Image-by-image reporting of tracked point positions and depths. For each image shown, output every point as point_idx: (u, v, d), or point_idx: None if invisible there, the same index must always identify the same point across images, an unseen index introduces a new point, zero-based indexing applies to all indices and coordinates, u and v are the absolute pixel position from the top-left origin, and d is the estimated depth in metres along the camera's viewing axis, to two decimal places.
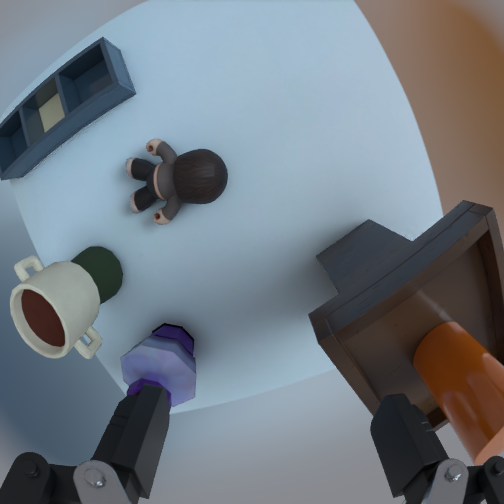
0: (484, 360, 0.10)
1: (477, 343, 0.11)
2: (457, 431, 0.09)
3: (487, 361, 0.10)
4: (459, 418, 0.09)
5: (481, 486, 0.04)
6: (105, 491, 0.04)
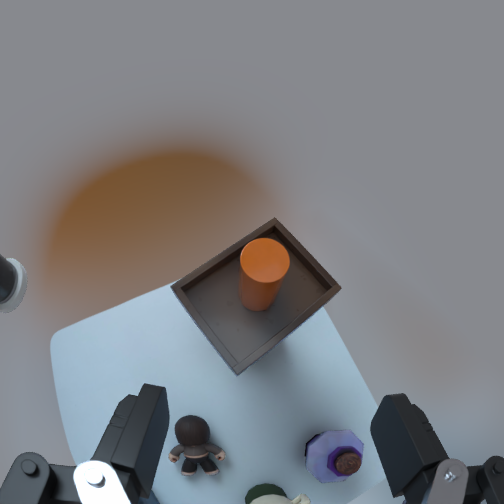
0: (239, 280, 0.27)
1: None
2: (273, 290, 0.24)
3: (239, 278, 0.26)
4: (264, 292, 0.24)
5: (481, 486, 0.04)
6: (105, 491, 0.04)
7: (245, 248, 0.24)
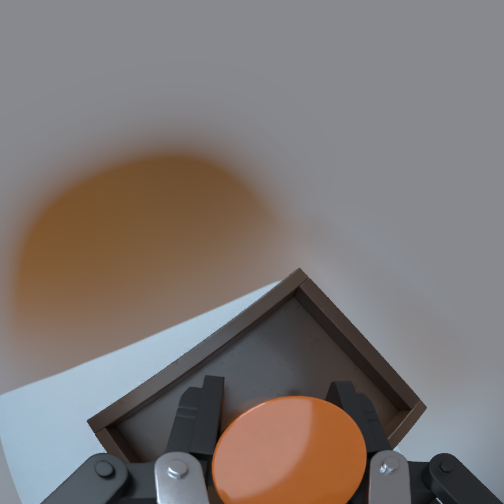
0: None
1: None
2: None
3: None
4: None
5: (426, 484, 0.05)
6: (185, 483, 0.05)
7: (227, 438, 0.06)
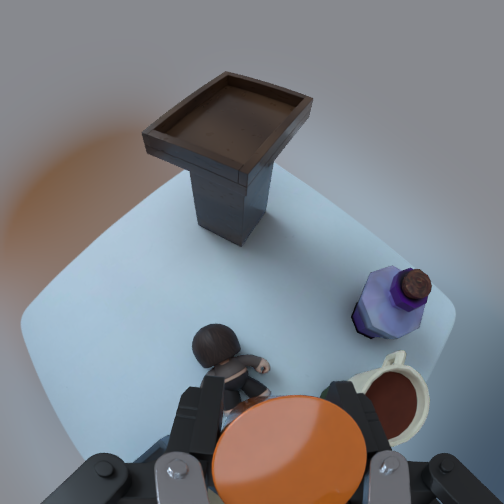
0: None
1: None
2: None
3: None
4: None
5: (426, 484, 0.05)
6: (185, 483, 0.05)
7: (227, 437, 0.06)
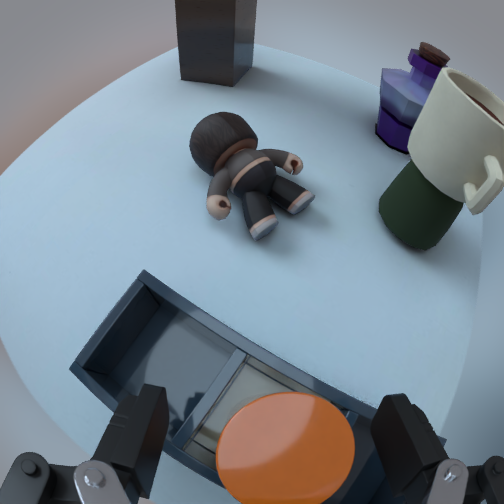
0: None
1: None
2: None
3: None
4: None
5: (481, 485, 0.04)
6: (105, 491, 0.04)
7: (230, 429, 0.07)
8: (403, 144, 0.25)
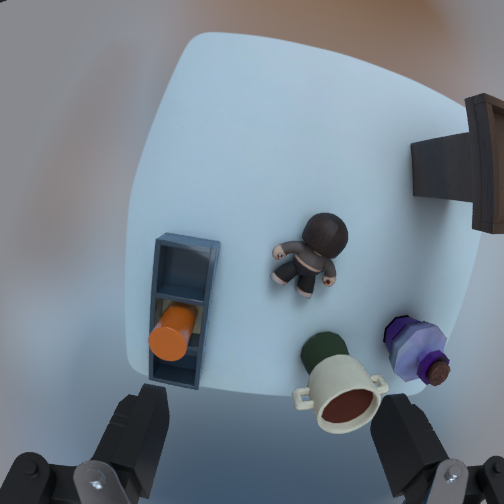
0: (164, 313, 0.30)
1: (172, 306, 0.32)
2: None
3: (165, 313, 0.30)
4: None
5: (481, 486, 0.04)
6: (105, 491, 0.04)
7: (167, 329, 0.27)
8: (386, 339, 0.36)
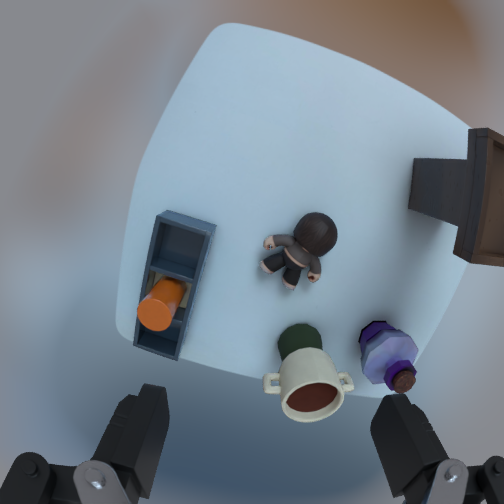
0: (155, 285, 0.33)
1: (164, 279, 0.34)
2: None
3: (156, 286, 0.33)
4: None
5: (481, 486, 0.04)
6: (105, 491, 0.04)
7: (155, 301, 0.29)
8: (361, 340, 0.39)
